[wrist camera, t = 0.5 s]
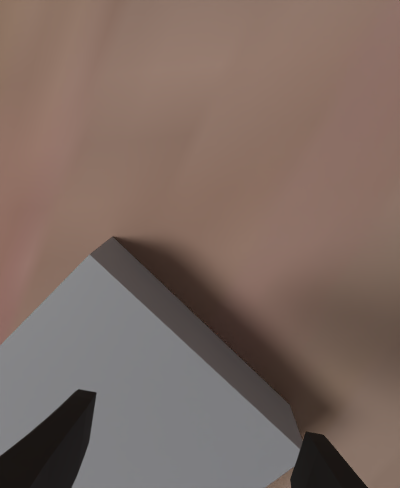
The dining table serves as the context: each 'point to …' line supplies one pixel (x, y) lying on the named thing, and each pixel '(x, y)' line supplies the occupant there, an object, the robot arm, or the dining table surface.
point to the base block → (143, 385)
